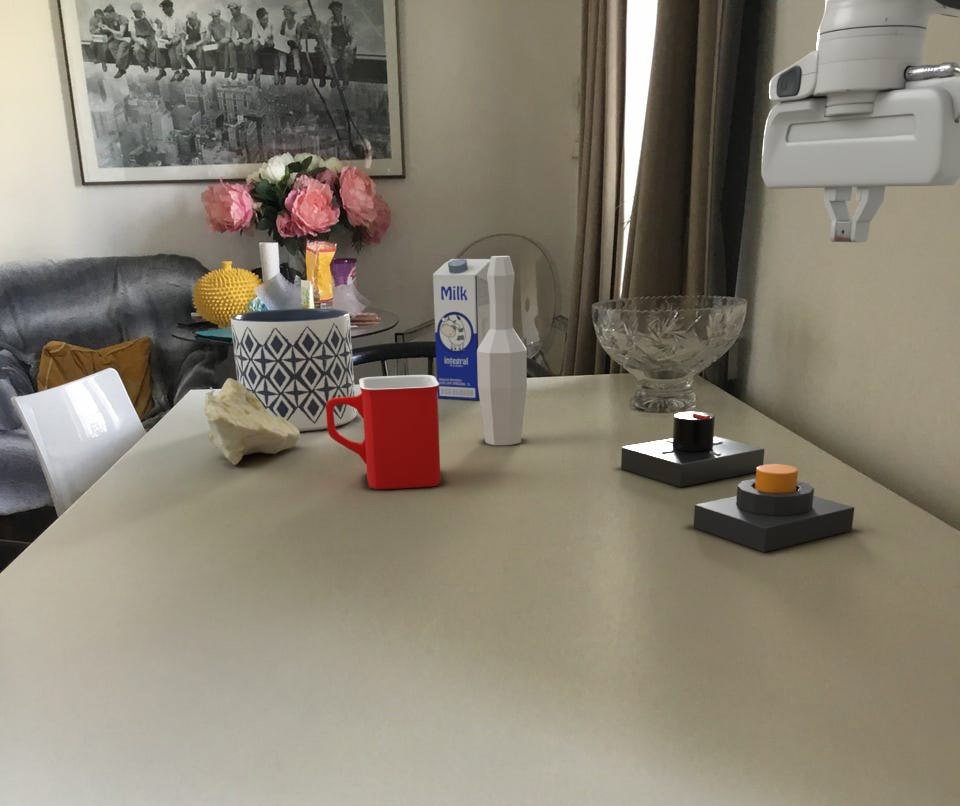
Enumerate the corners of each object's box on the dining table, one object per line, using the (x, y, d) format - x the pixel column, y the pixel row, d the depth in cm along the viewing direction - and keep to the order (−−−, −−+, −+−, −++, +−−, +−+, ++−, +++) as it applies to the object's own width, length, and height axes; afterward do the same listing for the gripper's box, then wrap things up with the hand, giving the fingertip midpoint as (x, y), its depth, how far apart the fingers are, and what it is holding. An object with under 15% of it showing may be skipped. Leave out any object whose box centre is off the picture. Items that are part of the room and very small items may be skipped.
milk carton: (496, 392, 165) (493, 257, 157) (478, 400, 160) (475, 260, 152) (455, 390, 168) (451, 257, 160) (436, 397, 162) (431, 260, 154)
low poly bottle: (518, 434, 137) (516, 254, 128) (535, 444, 131) (535, 256, 122) (471, 438, 135) (466, 256, 126) (487, 448, 129) (483, 259, 121)
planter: (364, 428, 142) (357, 317, 137) (244, 436, 139) (232, 323, 133) (348, 407, 156) (341, 306, 151) (239, 414, 153) (228, 311, 147)
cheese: (258, 455, 137) (161, 393, 128) (294, 414, 135) (198, 347, 126) (282, 519, 127) (178, 456, 117) (322, 475, 125) (219, 408, 115)
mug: (436, 468, 121) (433, 374, 116) (444, 487, 113) (440, 386, 109) (331, 474, 119) (324, 378, 115) (331, 493, 112) (323, 391, 107)
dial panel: (701, 454, 124) (702, 431, 123) (763, 470, 116) (765, 447, 115) (620, 468, 119) (621, 445, 118) (680, 487, 111) (681, 462, 110)
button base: (778, 508, 103) (782, 468, 101) (852, 530, 96) (857, 487, 94) (693, 527, 98) (695, 485, 96) (764, 552, 91) (768, 507, 89)
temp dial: (664, 446, 117) (665, 412, 116) (694, 441, 119) (696, 407, 118) (690, 453, 114) (692, 418, 112) (721, 448, 116) (723, 413, 114)
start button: (774, 483, 98) (776, 461, 97) (804, 491, 95) (806, 469, 94) (746, 489, 96) (748, 467, 95) (775, 498, 93) (777, 475, 92)
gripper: (998, 60, 85) (970, 243, 90) (804, 83, 101) (790, 238, 106) (947, 57, 82) (921, 246, 87) (756, 81, 98) (744, 240, 103)
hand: (848, 242), depth 97 cm, fingers closed
